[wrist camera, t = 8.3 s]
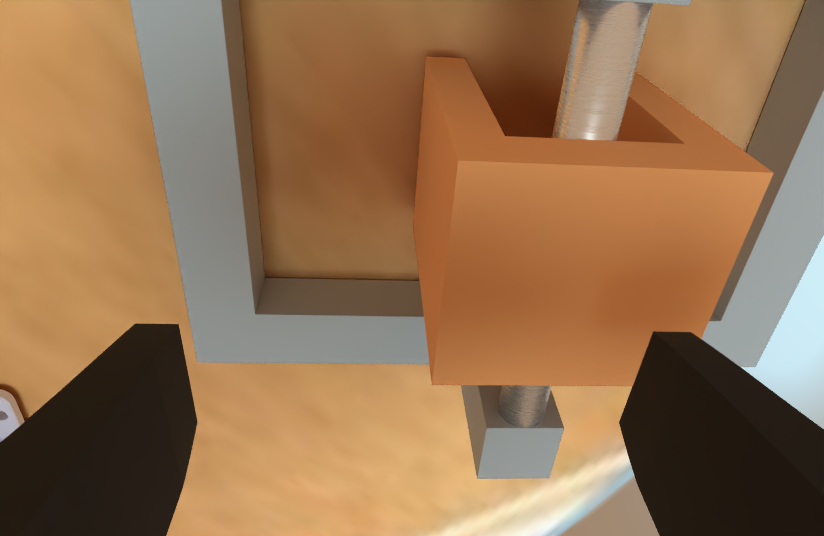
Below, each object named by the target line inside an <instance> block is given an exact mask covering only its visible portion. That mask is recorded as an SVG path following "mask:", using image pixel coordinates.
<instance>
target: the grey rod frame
mask: <svg viewBox="0 0 824 536" xmlns="http://www.w3.org/2000/svg"><path fill="white" fill-rule="evenodd" d="M690 2H691V0H579V4H578V9H577V14H576V19H575V24H574V29H573V34H572V39H571V44H570V49H569V54H568V59H567V64H566V69H565V74H564V79H563V84H562V89H561V94H560V99H559V104H558V109H557V114H556V119H555V124H554V129H553V134H552V138H562V139H585V140H608V141H617V137H618V134H619V130H620V126H621V122H622V119H623V115H624V111H625V107H626V103H627V100H628V96H629V92H630V88H631V84H632V81H633V77H634V73H635V69H636V66H637V62H638V58H639V54H640V50H641V47H642V43H643V39H644V35H645V32H646V28H647V24H648V20H649V16H650V13H651V9H652V5H653V3H661V4H678V5H690ZM130 4H131V10H132V15H133V20H134V26H135V31H136V36H137V42H138V47H139V53H140V58H141V63H142V69H143V74H144V79H145V85H146V90H147V95H148V101H149V106H150V112H151V117H152V122H153V128H154V133H155V138H156V144H157V149H158V154H159V160H160V165H161V171H162V176H163V181H164V187H165V192H166V197H167V203H168V208H169V213H170V219H171V224H172V229H173V235H174V240H175V246H176V251H177V256H178V262H179V267H180V272H181V278H182V283H183V288H184V294H185V299H186V305H187V310H188V315H189V321H190V326H191V331H192V337H193V342H194V347H195V353H196V358H197V362H208V363H327V364H429V355H428V347H427V339H426V330H425V322H424V313H423V305H422V297H421V288H420V281H406V280H355V279H304V278H265V273H264V262H263V251H262V240H261V229H260V219H259V208H258V197H257V186H256V175H255V164H254V153H253V143H252V132H251V121H250V110H249V99H248V88H247V78H246V67H245V56H244V45H243V34H242V23H241V12H240V2H239V0H130ZM746 153H747V154H749V155H750V156H751V157H753V158H754V159H756V160H757V161H758V162H760V163H761V164H762V165H764V166H765V167H767V168H768V169H769V170H771V171H772V172H773V173H774V174H773V176H772V178H771V181H770V183H769V185H768V187H767V190H766V192H765V194H764V197H763V199H762V201H761V203H760V206H759V208H758V210H757V213H756V215H755V217H754V219H753V222H752V224H751V226H750V229H749V231H748V233H747V235H746V238H745V240H744V242H743V245H742V247H741V249H740V252H739V254H738V256H737V258H736V261H735V263H734V265H733V268H732V270H731V272H730V274H729V277H728V279H727V281H726V284H725V286H724V288H723V290H722V293H721V295H720V297H719V300H718V302H717V304H716V306H715V309H714V311H713V313H712V316H711V318H710V320H709V322H708V325H707V327H706V329H705V332H704V334H703V336H702V340H703V341H705V342H706V343H708V344H709V345H711V346H712V347H714V348H715V349H716V350H718V351H719V352H720V353H722V354H723V355H725V356H726V357H727V358H729V359H730V360H731V361H733V362H734V363H735V364H737V365H738V366H739V367H756V365H757V363H758V361H759V359H760V357H761V355H762V353H763V351H764V349H765V348H766V346H767V344H768V342H769V340H770V338H771V336H772V334H773V332H774V330H775V328H776V326H777V324H778V322H779V320H780V318H781V316H782V315H783V312H784V311H785V309H786V307H787V305H788V303H789V301H790V299H791V297H792V295H793V293H794V291H795V289H796V287H797V285H798V283H799V281H800V280H801V277H802V276H803V274H804V272H805V270H806V268H807V266H808V264H809V262H810V260H811V258H812V256H813V254H814V252H815V250H816V248H817V246H818V244H819V243H820V241H821V238H822V237H823V235H824V0H806V2H805V4H804V7H803V10H802V12H801V15H800V17H799V20H798V22H797V25H796V27H795V30H794V32H793V35H792V37H791V40H790V42H789V45H788V47H787V50H786V53H785V55H784V58H783V60H782V63H781V65H780V68H779V70H778V73H777V75H776V78H775V80H774V83H773V85H772V88H771V90H770V93H769V96H768V98H767V101H766V103H765V106H764V108H763V111H762V113H761V116H760V118H759V121H758V123H757V126H756V128H755V131H754V133H753V136H752V139H751V141H750V144H749V146H748V149H747V151H746ZM551 387H552V386H518V385H461V388H462V394H463V399H464V405H465V411H466V417H467V422H468V428H469V434H470V440H471V446H472V451H473V457H474V463H475V469H476V475H477V479H509V478H550V474H551V471H552V468H553V464H554V461H555V457H556V454H557V451H558V447H559V444H560V441H561V437H562V434H563V430H564V426H563V423H562V420H561V418H560V415H559V412H558V409H557V406H556V403H555V400H554V397H553V395H552V392H551Z"/></svg>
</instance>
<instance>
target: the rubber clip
mask: <svg viewBox="0 0 824 536" xmlns="http://www.w3.org/2000/svg"><path fill="white" fill-rule="evenodd" d="M773 174H774V173H773V172H772V171H771V170H769V169H768V168H767V167H765V166H764V165H762V164H761V163H760V162H758V161H757V160H756V159H754V158H753V157H751V156H750V155H749V154H747V153H746V152H745V151H743V150H742V149H741V148H739V147H738V146H736V145H735V144H734V143H732V142H731V141H730V140H728V139H727V138H725V137H724V136H723V135H721V134H720V133H719V132H717V131H716V130H714V129H713V128H712V127H710V126H709V125H708V124H706V123H705V122H704V121H702V120H701V119H699V118H698V117H697V116H695V115H694V114H693V113H691V112H690V111H688V110H687V109H686V108H684V107H683V106H682V105H680V104H679V103H678V102H676V101H675V100H673V99H672V98H671V97H669V96H668V95H667V94H665V93H664V92H662V91H661V90H660V89H658V88H657V87H656V86H654V85H653V84H651V83H650V82H649V81H647V80H646V79H645V78H643V77H642V76H641V75H639V74H638V73H636V72H635V73H634V77H633V81H632V84H631V88H630V92H629V96H628V100H627V103H626V107H625V111H624V115H623V119H622V122H621V126H620V130H619V134H618V137H617V141H608V140H585V139H562V138H538V137H515V136H505V135H504V133H503V131H502V129H501V127H500V126H499V124H498V122H497V120H496V118H495V116H494V114H493V112H492V110H491V108H490V106H489V104H488V102H487V101H486V99H485V97H484V95H483V93H482V91H481V89H480V87H479V85H478V83H477V81H476V79H475V77H474V75H473V74H472V72H471V70H470V68H469V66H468V64H467V62H466V60H465V58H448V57H429V56H426V64H425V77H424V90H423V103H422V116H421V129H420V143H419V156H418V169H417V182H416V195H415V208H414V221H413V230H414V238H415V247H416V255H417V263H418V272H419V280H420V288H421V297H422V305H423V313H424V322H425V330H426V339H427V347H428V355H429V364H430V372H431V380H432V385H518V386H633V384H634V381H635V379H636V376H637V373H638V371H639V368H640V365H641V363H642V360H643V357H644V355H645V352H646V349H647V347H648V344H649V341H650V338H651V336H652V333H653V331H657V332H691V333H693V334H694V335H696V336H697V337H699V338H700V339H702V336H703V334H704V332H705V329H706V327H707V325H708V322H709V320H710V318H711V316H712V313H713V311H714V309H715V306H716V304H717V302H718V300H719V297H720V295H721V293H722V290H723V288H724V286H725V284H726V281H727V279H728V277H729V274H730V272H731V270H732V268H733V265H734V263H735V261H736V258H737V256H738V254H739V252H740V249H741V247H742V245H743V242H744V240H745V238H746V235H747V233H748V231H749V229H750V226H751V224H752V222H753V219H754V217H755V215H756V213H757V210H758V208H759V206H760V203H761V201H762V199H763V197H764V194H765V192H766V190H767V187H768V185H769V183H770V181H771V178H772V176H773Z"/></svg>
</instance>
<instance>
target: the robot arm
mask: <svg viewBox="0 0 824 536" xmlns="http://www.w3.org/2000/svg"><path fill="white" fill-rule="evenodd" d="M619 424H620V427H621V431H622V435H623V438H624V442H625V446H626V449H627V453H628V456H629V459H630V463H631V466H632V469H633V472H634V475H635V478H636V482H637V484H638V487H639V489H640V491H641V494H642V496H643V499H644V501H645V503H646V505H647V507H648V510H649V512H650V515H651V517H652V519H653V521H654V524H655V526H656V528H657V531H658V533H659V535H660V536H824V429H822V428H821V427H819V426H818V425H817V424H815V423H814V422H813V421H811V420H810V419H809V418H807V417H806V416H805V415H803V414H802V413H801V412H799V411H798V410H797V409H795V408H794V407H792V406H791V405H790V404H789V403H787V402H786V401H785V400H783V399H782V398H780V397H779V396H778V395H777V394H775V393H774V392H773V391H771V390H770V389H768V388H767V387H766V386H764V385H763V384H762V383H761V382H759V381H758V380H757V379H755V378H754V377H753V376H751V375H750V374H749V373H747V372H746V371H745V370H743V369H742V368H741V367H739V366H738V365H737V364H735V363H734V362H733V361H731V360H730V359H729V358H727V357H726V356H725V355H723V354H722V353H720V352H719V351H718V350H716V349H715V348H714V347H712V346H711V345H709V344H708V343H706V342H705V341H703V340H702V339H700V338H699V337H697V336H696V335H694V334H693V333H691V332H657V331H653V333H652V336H651V338H650V341H649V344H648V347H647V349H646V352H645V355H644V357H643V360H642V363H641V365H640V368H639V371H638V373H637V376H636V379H635V381H634V384H633V387H632V389H631V392H630V395H629V397H628V400H627V403H626V406H625V408H624V411H623V414H622V416H621V419H620V422H619ZM196 426H197V418H196V412H195V407H194V402H193V397H192V392H191V386H190V381H189V376H188V371H187V366H186V360H185V355H184V350H183V345H182V340H181V335H180V329H179V324H135V325H133V326H132V327H131V328H130V329H129V330H128V331H126V332H125V333H124V334H123V335H122V336H121V337H120V338H119V339H117V340H116V341H115V342H114V343H113V344H112V345H111V346H110V347H108V348H107V349H106V350H105V351H104V352H103V353H102V354H101V355H99V356H98V357H97V358H96V359H95V360H94V361H93V362H92V363H91V364H89V365H88V366H87V367H86V368H85V369H84V370H83V371H82V372H81V373H79V374H78V375H77V376H76V377H75V378H74V379H73V380H72V381H71V382H69V383H68V384H67V385H66V386H65V387H64V388H63V389H62V390H61V391H59V392H58V393H57V394H56V395H55V396H54V397H53V398H51V399H50V400H49V401H48V402H47V403H46V404H44V405H43V406H42V407H41V408H40V409H39V410H38V411H36V412H35V413H34V414H33V415H32V416H31V417H29V418H28V419H27V420H26V421H24V419H23V416H22V414H21V412H20V409H19V407H18V405H17V402H16V400H15V398H14V397H13V395H12V394H10V393H9V392H7V391H5V390H1V389H0V536H166V534H167V532H168V529H169V526H170V523H171V520H172V517H173V514H174V512H175V509H176V506H177V503H178V500H179V497H180V494H181V491H182V488H183V485H184V480H185V476H186V472H187V468H188V463H189V459H190V454H191V450H192V445H193V440H194V435H195V431H196Z"/></svg>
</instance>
